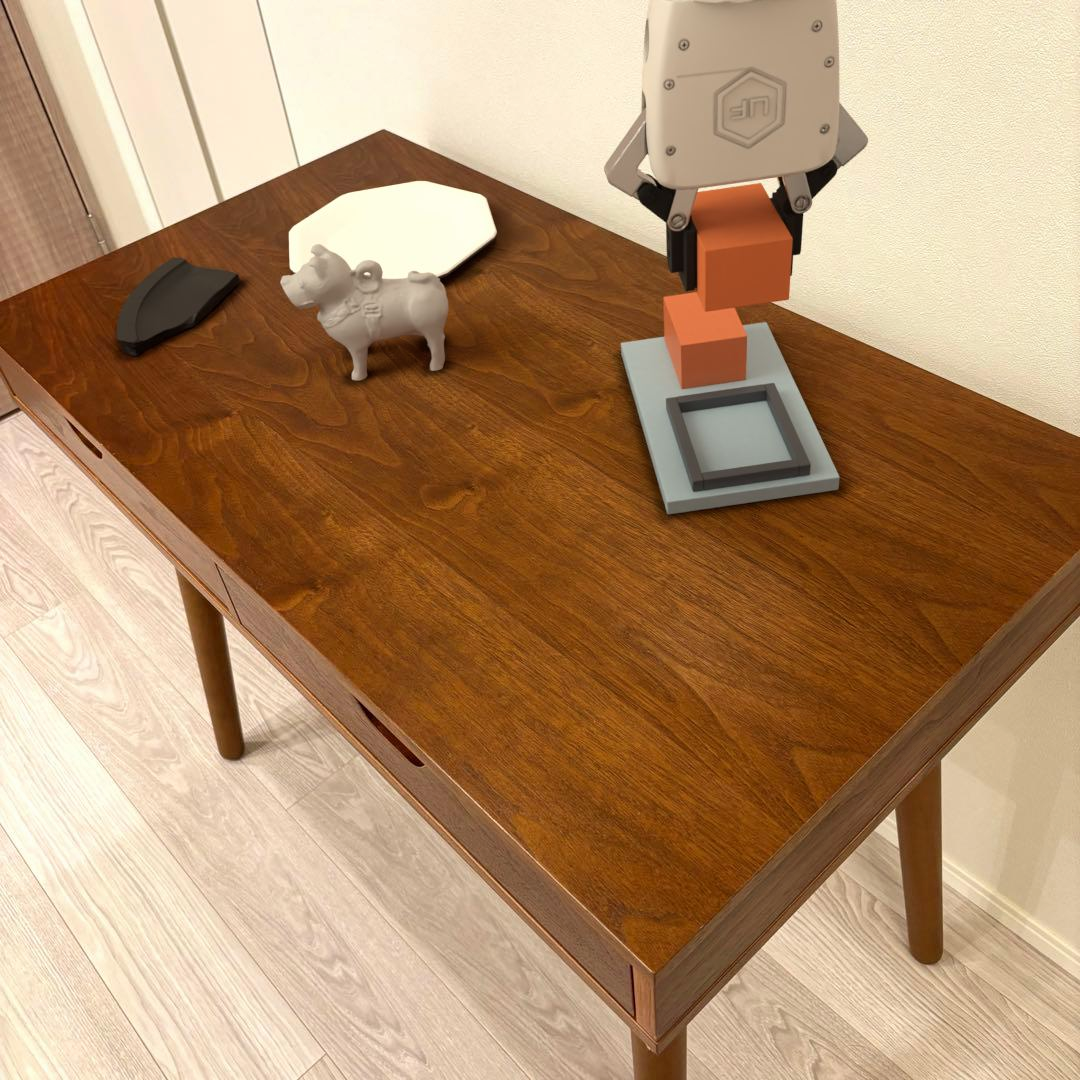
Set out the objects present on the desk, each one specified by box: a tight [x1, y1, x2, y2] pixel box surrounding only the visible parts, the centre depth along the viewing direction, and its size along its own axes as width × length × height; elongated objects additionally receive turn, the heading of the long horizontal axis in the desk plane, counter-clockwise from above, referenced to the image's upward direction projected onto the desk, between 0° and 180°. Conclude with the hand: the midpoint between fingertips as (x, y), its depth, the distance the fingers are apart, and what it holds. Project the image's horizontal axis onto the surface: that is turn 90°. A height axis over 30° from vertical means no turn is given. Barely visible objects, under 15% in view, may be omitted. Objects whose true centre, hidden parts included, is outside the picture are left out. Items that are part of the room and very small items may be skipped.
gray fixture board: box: [620, 291, 841, 515], centre depth 85 cm, size 12×20×5 cm, turn 6°
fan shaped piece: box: [116, 257, 241, 357], centre depth 105 cm, size 8×14×2 cm, turn 156°
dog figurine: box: [279, 244, 449, 382], centre depth 93 cm, size 5×13×11 cm, turn 96°
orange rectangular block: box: [691, 182, 793, 312], centre depth 68 cm, size 5×7×4 cm
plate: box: [288, 180, 498, 280], centre depth 110 cm, size 20×20×2 cm
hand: (733, 269), depth 69 cm, fingers closed on orange rectangular block, 5 cm apart
